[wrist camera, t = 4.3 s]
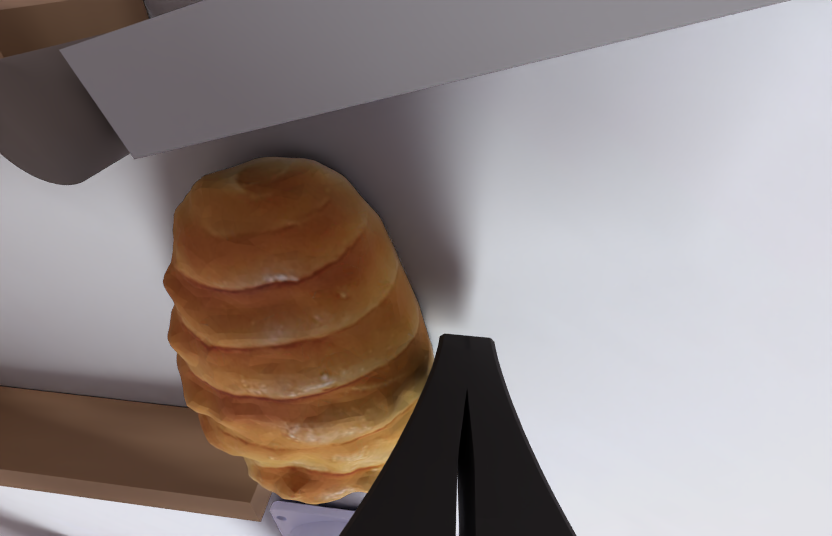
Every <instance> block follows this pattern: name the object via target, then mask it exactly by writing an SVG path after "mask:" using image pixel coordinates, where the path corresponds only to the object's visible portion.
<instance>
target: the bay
mask: <svg viewBox="0 0 832 536" xmlns="http://www.w3.org/2000/svg"><path fill="white" fill-rule="evenodd" d="M147 19H149V17H148V14H147V11H146V8H145V5H144V2H143V0H0V153H1V154H2V155H3V156H4V157H5V158H7V159H8V160H9V161H10V162H12V163H13V164H14V165H16V166H17V167H19V168H20V169H22V170H24V171H25V172H27V173H29V174H31V175H33V176H35V177H37V178H39V179H41V180H44V181H47V182H50V183H55V184H60V185H74V184H78V183H81V182H83V181H85V180H87V179H88V178H90V177H92V176H93V175H95V174H97V173H98V172H100V171H102V170H103V169H105V168H107V167H108V166H110V165H112V164H113V163H115V162H117V161H118V160H120V159H122V158H123V157H125V156H126V155H128V154H130V152H129V151H128V149H127V148H126V146H125V145H124V144H123V142H122V141H121V139H120V138H119V136H118V135H117V133H116V132H115V130H114V129H113V128H112V126H111V125H110V123H109V122H108V120H107V119H106V117H105V116H104V115H103V113H102V112H101V110H100V109H99V107H98V106H97V104H96V103H95V101H94V100H93V99H92V97H91V96H90V94H89V93H88V91H87V90H86V88H85V87H84V85H83V84H82V83H81V81H80V80H79V78H78V77H77V75H76V74H75V72H74V71H73V70H72V68H71V67H70V65H69V64H68V62H67V61H66V59H65V58H64V56H63V55H62V54H61V52H60V51H59V50H60V49H63V48H66V47H69V46H72V45H75V44H78V43H80V42H83V41H86V40H89V39H92V38H95V37H98V36H101V35H104V34H107V33H110V32H112V31H115V30H118V29H121V28H124V27H127V26H130V25H133V24H136V23H139V22H142V21H144V20H147ZM0 486H7V487H14V488H21V489H28V490H35V491H43V492H50V493H57V494H64V495H71V496H79V497H86V498H93V499H100V500H107V501H115V502H122V503H129V504H136V505H143V506H151V507H158V508H165V509H172V510H179V511H187V512H194V513H201V514H208V515H215V516H223V517H230V518H237V519H244V520H251V521H259V522H261V520H262V517H263V515H264V512H265V509H266V507H267V504H268V501H269V499H270V496H271V493H272V491H269V490H267V489H265V488H263V487H262V486H261V485H260V484H259V483H258V482H256V481H254V480H253V479H252V478H251V477H250V476H249V475H248V468H247V464H246V462H245V460H244V457H243V456H233V455H230V454H228V453H226V452H224V451H222V450H220V449H217V448H215V447H214V446H213V445H211V444H210V443H209V442H208V441H207V439H206V436H205V434H204V432H203V430H202V428H201V425H200V421H199V417H198V413H197V412H195V411H194V410H192V409H191V408H184V407H176V406H167V405H158V404H150V403H141V402H132V401H124V400H115V399H106V398H98V397H89V396H80V395H72V394H63V393H54V392H46V391H37V390H28V389H20V388H11V387H2V386H0Z"/></svg>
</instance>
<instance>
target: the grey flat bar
mask: <svg viewBox="0 0 832 536" xmlns="http://www.w3.org/2000/svg"><path fill="white" fill-rule="evenodd" d="M786 1H790V0H203V1H200V2H197V3H194V4H191V5H188V6H185V7H182V8H179V9H176V10H174V11H171V12H168V13H165V14H162V15H159V16H156V17H153V18H150V19H147V20H144V21H142V22H139V23H136V24H133V25H130V26H127V27H124V28H121V29H118V30H115V31H112V32H110V33H107V34H104V35H101V36H98V37H95V38H92V39H89V40H86V41H83V42H80V43H78V44H75V45H72V46H69V47H66V48H63V49H60V50H59V51H60V52H61V54H62V55H63V56H64V58H65V59H66V61H67V62H68V64H69V65H70V67H71V68H72V70H73V71H74V72H75V74H76V75H77V77H78V78H79V80H80V81H81V83H82V84H83V85H84V87H85V88H86V90H87V91H88V93H89V94H90V96H91V97H92V99H93V100H94V101H95V103H96V104H97V106H98V107H99V109H100V110H101V112H102V113H103V115H104V116H105V117H106V119H107V120H108V122H109V123H110V125H111V126H112V128H113V129H114V130H115V132H116V133H117V135H118V136H119V138H120V139H121V141H122V142H123V144H124V145H125V146H126V148H127V149H128V151H129V152H130V154H131V155H132V157H133V158H134V159H137V158H142V157H146V156H150V155H154V154H158V153H162V152H166V151H171V150H175V149H179V148H183V147H187V146H191V145H195V144H199V143H204V142H208V141H212V140H216V139H220V138H224V137H228V136H232V135H237V134H241V133H245V132H249V131H253V130H257V129H261V128H265V127H270V126H274V125H278V124H282V123H286V122H290V121H294V120H298V119H303V118H307V117H311V116H315V115H319V114H323V113H327V112H332V111H336V110H340V109H344V108H348V107H352V106H356V105H360V104H365V103H369V102H373V101H377V100H381V99H385V98H389V97H393V96H398V95H402V94H406V93H410V92H414V91H418V90H422V89H426V88H431V87H435V86H439V85H443V84H447V83H451V82H455V81H459V80H464V79H468V78H472V77H476V76H480V75H484V74H488V73H492V72H497V71H501V70H505V69H509V68H513V67H517V66H521V65H526V64H530V63H534V62H538V61H542V60H546V59H550V58H554V57H559V56H563V55H567V54H571V53H575V52H579V51H583V50H587V49H592V48H596V47H600V46H604V45H608V44H612V43H616V42H620V41H625V40H629V39H633V38H637V37H641V36H645V35H649V34H653V33H658V32H662V31H666V30H670V29H674V28H678V27H682V26H687V25H691V24H695V23H699V22H703V21H707V20H711V19H715V18H720V17H724V16H728V15H732V14H736V13H740V12H744V11H748V10H753V9H757V8H761V7H765V6H769V5H773V4H777V3H781V2H786Z"/></svg>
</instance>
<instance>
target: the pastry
mask: <svg viewBox="0 0 832 536" xmlns="http://www.w3.org/2000/svg"><path fill="white" fill-rule="evenodd" d="M173 238H174V242H173V253H172V260H171V263H170V265H169V267H168V269H167V271H166V273H165V275H164V279H163V284H164V287H165V289H166V291H167V292H168V294H169V295H170V297H171V298H172V300H173V302H174V307H173V309H172V312H171V320H170V326H169V331H168V341H169V343H170V345H171V347H172V348H173V349H174V350H175V351H176V352H177V366H178V370H179V373H180V376H181V380H182V385H183V393H184V398H185V401H186V405H187V406H188V407H189V408H191V409H192V410H194V411H195V412H197V413H198V417H199V421H200V425H201V428H202V430H203V432H204V434H205V436H206V439H207V441H208V442H209V443H210V444H211V445H213V446H214V447H215V448H217V449H220V450H222V451H224V452H226V453H228V454H230V455H233V456H243V457H244V460H245V462H246V464H247V468H248V475H249V476H250V477H251V478H252V479H253V480H254V481H256V482H258V483H259V484H260V485H261V486H262V487H263V488H265V489H267V490H269V491H272V492H274V493H276V494H277V495H279V496H280V497H281V498H283V499H287V500H297V501H300V502H304V503H307V504H321V503H327V502H331V501H335V500H338V499H340V498H342V497H344V496H346V495H348V494H350V493H352V492H365V493H368V491H369V489H370V488H371V486H372V484H373V483H374V481H375V480H376V478H377V476H378V475H379V473H380V471H381V470H382V468H383V466H384V465H385V463H386V461H387V459H388V458H389V456H390V454H391V452H392V451H393V449H394V447H395V445H396V443H397V441H398V440H399V438H400V436H401V434H402V432H403V430H404V428H405V426H406V424H407V422H408V420H409V418H410V416H411V414H412V412H413V410H414V408H415V406H416V404H417V401H418V399H419V397H420V395H421V392H422V390H423V388H424V386H425V383H426V381H427V378H428V376H429V373H430V370H431V368H432V365H433V362H434V355H433V348H432V344H431V342H430V339H429V337H428V333H427V330H426V326H425V323H424V320H423V317H422V313H421V310H420V307H419V304H418V301H417V299H416V297H415V294H414V292H413V290H412V288H411V285H410V283H409V281H408V278H407V276H406V274H405V272H404V270H403V267H402V265H401V263H400V260H399V258H398V255H397V252H396V250H395V248H394V246H393V244H392V242H391V240H390V238H389V236H388V234H387V231H386V229H385V227H384V225H383V223H382V220H381V219H380V217H379V215H378V214H377V213H376V212H375V211H374V210H373V209H372V208H371V207H370V206H369V205H368V204H367V202H366V201H365V200H364V199H363V198H362V197H361V196H360V194H359V193H358V192H357V191H356V190H355V188H354V187H353V186H352V185H351V183H350V182H349V181H348V180H347V179H346V178H345V177H344V176H342V175H341V174H340V173H338V172H336V171H334V170H332V169H330V168H328V167H326V166H324V165H322V164H321V163H319V162H317V161H315V160H310V159H304V158H285V157H262V158H256V159H253V160H250V161H248V162H245V163H243V164H240V165H237V166H235V167H232V168H228V169H225V170H221V171H217V172H214V173H211V174H208V175H205V176H203V177H202V178H201V179H199V180H198V181H197V182H196V183H195V184H194V185H193V186H192V188H191V191H190V192H189V193H188V194H187V195H186V196H185V198H184V201H183V202H182V203H181V204H179V206H178V207H177V208H176V210H175V213H174V223H173Z"/></svg>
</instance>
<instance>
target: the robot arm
mask: <svg viewBox="0 0 832 536" xmlns="http://www.w3.org/2000/svg"><path fill="white" fill-rule="evenodd" d="M457 479H458V508H459V536H576V534H575V532H574V530H573V529H572V527H571V525H570V523H569V522H568V520H567V518H566V516H565V514H564V512H563V510H562V509H561V507H560V505H559V503H558V501H557V499H556V497H555V496H554V494H553V492H552V490H551V488H550V486H549V484H548V482H547V480H546V478H545V476H544V474H543V472H542V470H541V468H540V466H539V463H538V461H537V459H536V457H535V455H534V453H533V451H532V448H531V446H530V444H529V442H528V439H527V437H526V435H525V433H524V430H523V428H522V425H521V423H520V420H519V418H518V415H517V413H516V410H515V408H514V406H513V403H512V400H511V398H510V395H509V392H508V389H507V386H506V383H505V380H504V377H503V374H502V371H501V368H500V364H499V361H498V357H497V353H496V349H495V343H494V341H493V340H492V339H491V338H485V337H474V336H464V335H454V334H443V335H441V336H440V338H439V344H438V348H437V352H436V355H435V359H434V362H433V365H432V368H431V370H430V373H429V376H428V378H427V381H426V383H425V386H424V388H423V390H422V392H421V395H420V397H419V399H418V401H417V404H416V406H415V408H414V410H413V412H412V414H411V416H410V418H409V420H408V422H407V424H406V426H405V428H404V430H403V432H402V434H401V436H400V438H399V440H398V441H397V443H396V445H395V447H394V449H393V451H392V452H391V454H390V456H389V458H388V459H387V461H386V463H385V465H384V466H383V468H382V470H381V471H380V473H379V475H378V476H377V478H376V480H375V481H374V483H373V484H372V486H371V488H370V489H369V491H368V493H367V494H366V496H365V497H364V499H363V500H362V502H361V503H360V505H359V506H358V508H357V509H356V511H351V510H343V509H336V508H328V507H321V506H313V505H306V504H299V503H291V502H284V501H275V502H273V503H272V505H271V508H270V513H271V515H272V517H273V519H274V521H275V523H276V525H277V527H278V529H279V531H280V533H281V535H282V536H456V498H457Z"/></svg>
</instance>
